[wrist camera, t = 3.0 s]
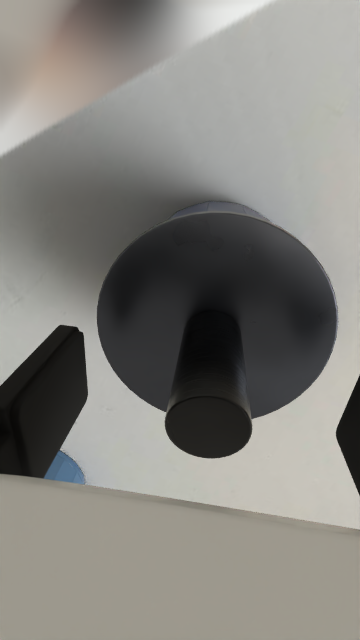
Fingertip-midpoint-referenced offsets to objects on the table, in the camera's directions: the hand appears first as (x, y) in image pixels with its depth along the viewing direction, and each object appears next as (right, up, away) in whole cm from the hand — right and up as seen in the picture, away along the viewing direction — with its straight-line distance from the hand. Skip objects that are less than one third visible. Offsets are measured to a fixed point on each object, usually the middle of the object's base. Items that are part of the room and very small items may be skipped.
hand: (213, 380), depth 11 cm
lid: (0, +2, +3) cm, 3 cm away
